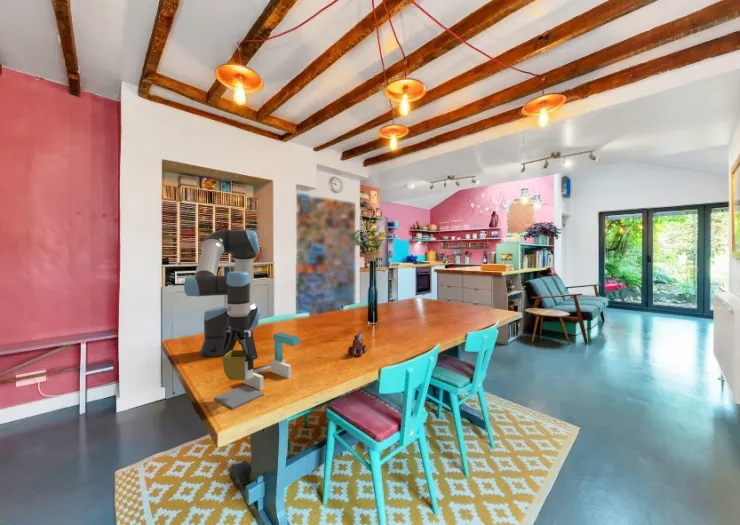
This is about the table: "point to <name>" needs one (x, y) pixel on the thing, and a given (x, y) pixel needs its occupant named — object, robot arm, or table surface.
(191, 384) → the table surface
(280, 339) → the gate
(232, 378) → the flower pot
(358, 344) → the toy fire truck
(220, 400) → the mat
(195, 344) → the table surface
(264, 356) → the table surface
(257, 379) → the white bars
